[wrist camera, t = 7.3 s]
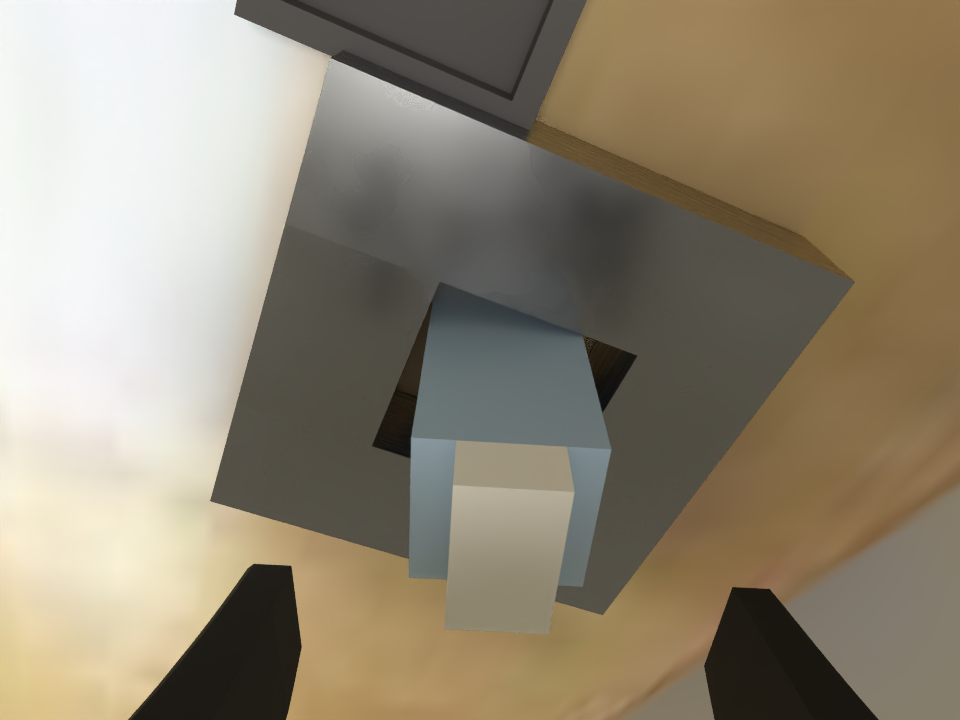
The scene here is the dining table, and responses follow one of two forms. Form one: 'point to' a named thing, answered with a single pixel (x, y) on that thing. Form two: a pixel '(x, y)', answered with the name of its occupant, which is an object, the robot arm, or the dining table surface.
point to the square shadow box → (440, 42)
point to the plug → (503, 463)
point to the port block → (515, 284)
